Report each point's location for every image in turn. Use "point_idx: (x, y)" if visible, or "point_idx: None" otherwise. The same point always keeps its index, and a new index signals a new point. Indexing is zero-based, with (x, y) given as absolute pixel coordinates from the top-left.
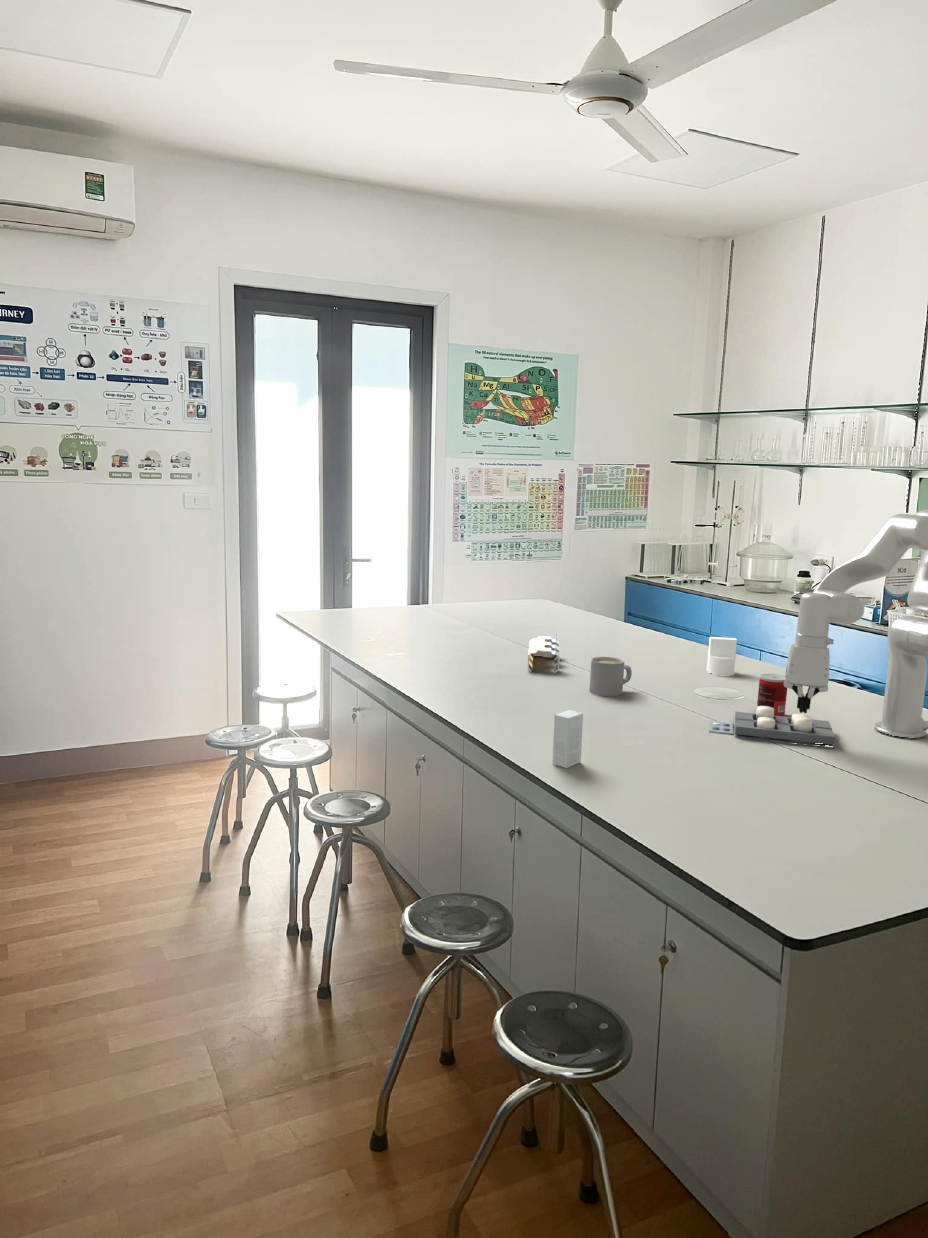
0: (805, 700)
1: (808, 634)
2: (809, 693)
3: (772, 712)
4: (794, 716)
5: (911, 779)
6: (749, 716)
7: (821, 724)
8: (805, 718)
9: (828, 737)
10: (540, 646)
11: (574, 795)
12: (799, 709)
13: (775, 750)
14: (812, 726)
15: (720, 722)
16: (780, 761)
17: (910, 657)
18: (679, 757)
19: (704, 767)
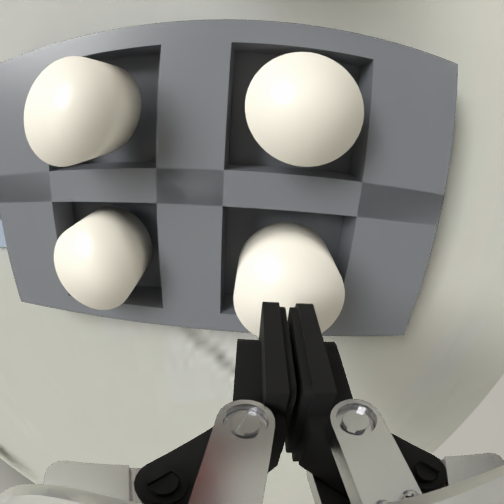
0: (287, 443)
1: None
2: (321, 493)
3: (108, 141)
4: (258, 133)
5: (446, 432)
6: None
7: (414, 135)
8: (305, 285)
9: (378, 333)
10: None
11: (25, 476)
12: (260, 327)
13: (173, 374)
14: (356, 190)
15: None
16: (190, 434)
17: None
18: (23, 415)
19: (72, 450)
